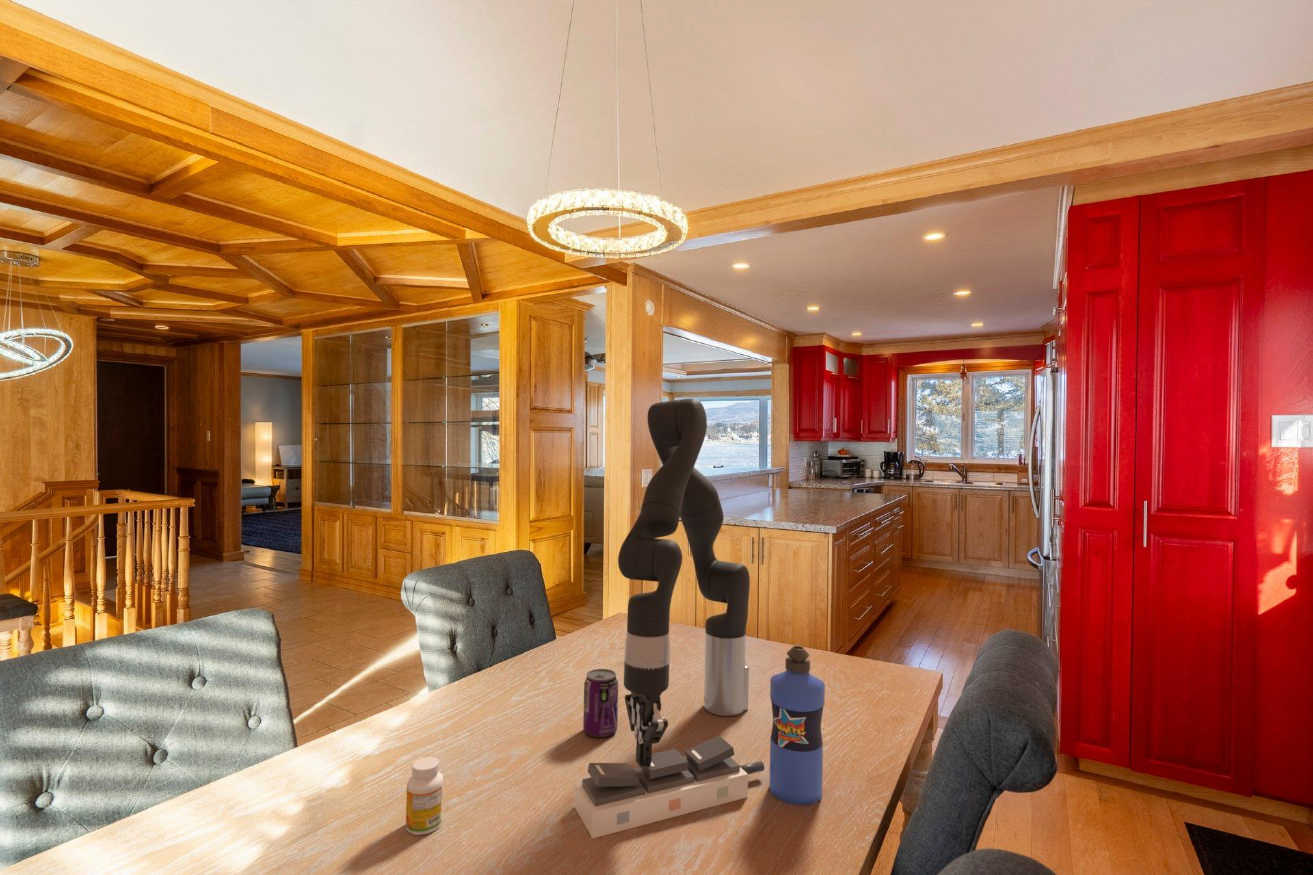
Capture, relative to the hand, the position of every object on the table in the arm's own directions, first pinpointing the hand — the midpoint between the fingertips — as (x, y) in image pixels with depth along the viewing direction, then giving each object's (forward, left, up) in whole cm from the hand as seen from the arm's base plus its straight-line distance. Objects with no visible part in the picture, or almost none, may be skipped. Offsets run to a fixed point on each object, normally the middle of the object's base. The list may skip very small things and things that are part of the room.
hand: (643, 763), depth 103 cm
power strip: (-7, 0, -7) cm, 10 cm away
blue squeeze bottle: (-27, +6, -8) cm, 28 cm away
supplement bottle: (+33, -9, -8) cm, 35 cm away
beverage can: (-3, -28, -8) cm, 29 cm away
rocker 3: (-13, 0, -1) cm, 13 cm away
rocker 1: (+5, 0, -1) cm, 5 cm away
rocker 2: (-4, 0, -1) cm, 4 cm away
